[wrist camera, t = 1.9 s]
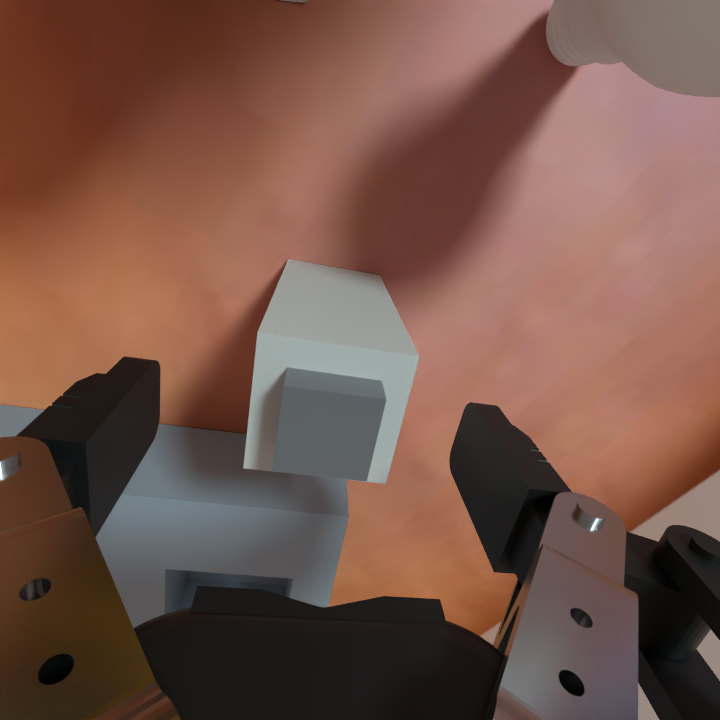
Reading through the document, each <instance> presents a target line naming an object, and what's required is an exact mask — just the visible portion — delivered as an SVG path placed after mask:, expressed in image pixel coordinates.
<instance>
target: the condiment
mask: <svg viewBox="0 0 720 720" xmlns="http://www.w3.org/2000/svg"><path fill="white" fill-rule="evenodd" d="M282 1H292V2H307V0H282Z"/></svg>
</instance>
